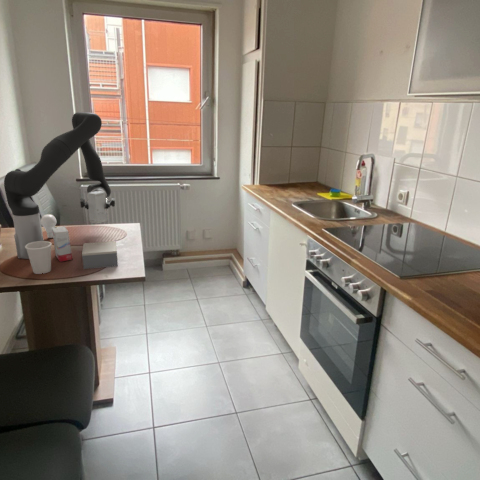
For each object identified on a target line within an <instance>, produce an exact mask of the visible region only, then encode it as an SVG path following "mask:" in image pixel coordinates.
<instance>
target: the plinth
mask: <svg viewBox="0 0 480 480" xmlns="http://www.w3.org/2000/svg"><path fill="white" fill-rule="evenodd" d="M81 253H82V254H81V258H82V267H83V270H88V269H89V268H90V269H98V268H99V269H101V268H110V267H111V268H112V267H118V264H119V263H118V262H119V261H118V251H117V240H116V241H115V240H113V241H112V240H111V241H101V242H100V241H98V242H86V243H83V246H82V252H81Z"/></svg>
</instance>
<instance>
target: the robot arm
mask: <svg viewBox="0 0 480 480" xmlns="http://www.w3.org/2000/svg"><path fill="white" fill-rule="evenodd" d="M102 124H103V123H102V119H101V117H100V116H99V115H98V114H97V113H94V112H88V111H87V112H85V111H84V112H83V111H82V112H79V111H77V112H74V113H73V115H72V118H71V125H72V128H73V129H71V130H69V131H66V132H64V133H62V134H59V135H57V136H55V137H54V138H52V139H51V140H50V141H49V142H48V143H47V144H46V145H45V146H44V147H43V148H42V151H41V153H40V159H39V161H38V162H37V163H36V164H35V165H34V166H33V167H32V168H30V169H29V170H26V171H23V170H11V171H8V172H7V173H6V174H5V175H4V179H3V186H4V187H3V188H4V193H5V196H6V201H7V205H8V208H9V209H10V211H11V214H12V220H13V227H14V228H13V229H14V235H13V236H14V237H13V238H14V242H15V248H16V253H17V254H16V255H17V259H24V260H30V259H29V256H28V253H27V250H26V248H25V246H26V245H27V244H29V243H32V242H37V241H45V239H44V236H43V234H44V233H43V228H42V227H43V226H42V224H41V214H40V207H39V205H38V204H37V203H36V202H35V201H33V200H32V199H31V197H33V196H35V195H36V194H38V193H39V192H40V190H42V189H43V188H44V186H45V184H47V182H48V181H49V179H50V178H51V177H52V176H53V174H54V175H55V173H56V172H57V171H58V170H59V168H61V166H62V165H64V164H65V163H66V162H67V161H68V160H69V159H70V158H71V157H72V156H73V155H74V154H75V153H76V152H77V151H78V150H79V149H80V150H81V154H82V155H83V160H84V162H85V168H86V172H87V176H88V179H89V180H90V181H99V183H91V184H89V185H88V186H87V188H86V192H87V193H90V192H95V191H103V192H105V195H106V208H107V209H109V208H111V207H115V205H116V200H115V197H111V198H110V199H109V198H108V197H110V196H111V194H112V190H111V188H110V185H109V183H108V181H107V179H106V176H105V174H104V169H103V164H102V159H101V158H100V155H99V154H98V153H97V152H96V150H95V148H94V146H93V145H92V143H91V139H92V138H93V137H95V136H96V135H97V134H98V133H99V132H100V130H101V128H102V126H103V125H102ZM87 193H86V194H87ZM79 202H80V208H82V209H83V208H84V209H86V210H89V208H88V199H86V200H85V199H84V198H80V201H79Z"/></svg>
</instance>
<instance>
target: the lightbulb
mask: <svg viewBox="0 0 480 480" xmlns="http://www.w3.org/2000/svg"><path fill="white" fill-rule="evenodd" d="M40 219H41V226H42V227H43V228H44V229H45V232H46V236H47V238H48V239H53V232H52V228H53V227H56V225H57V219H56V217H55V216H54V215H53V214H49V213H48V214H47V213H46V214H44V215H42V216H41V217H40Z"/></svg>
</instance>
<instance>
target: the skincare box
mask: <svg viewBox="0 0 480 480" xmlns="http://www.w3.org/2000/svg"><path fill="white" fill-rule="evenodd" d="M86 195H87V200H88V208H89V209H88V218H89V223H92V224H100V223H105V222H107V221H108V220H109V219H108V210H107V208H106V195H105V192H103V191H95V192H90V193H86Z"/></svg>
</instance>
